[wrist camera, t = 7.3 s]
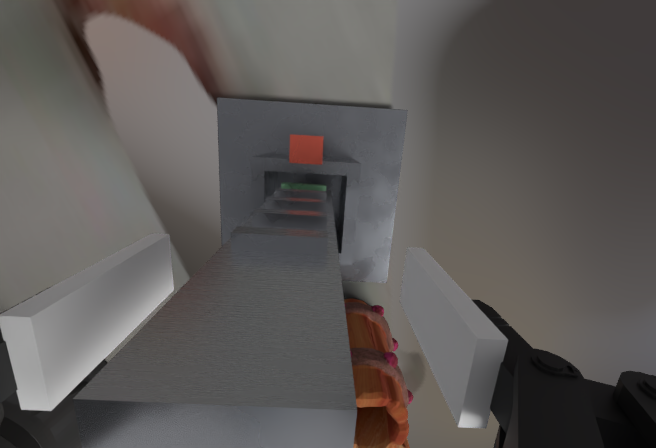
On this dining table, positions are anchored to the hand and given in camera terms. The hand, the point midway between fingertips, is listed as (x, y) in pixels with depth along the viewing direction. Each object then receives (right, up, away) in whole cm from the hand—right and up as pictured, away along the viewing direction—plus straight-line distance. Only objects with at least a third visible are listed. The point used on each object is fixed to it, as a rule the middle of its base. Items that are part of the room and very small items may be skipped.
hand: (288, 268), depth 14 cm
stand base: (0, +5, +18) cm, 19 cm away
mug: (+6, -12, +23) cm, 26 cm away
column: (0, +3, +10) cm, 11 cm away
